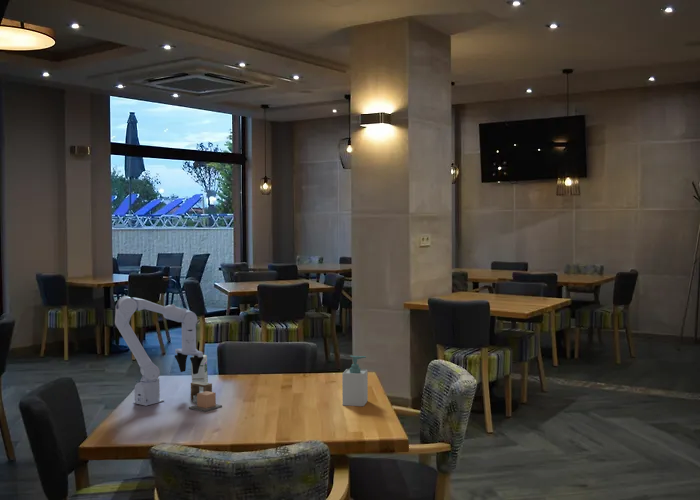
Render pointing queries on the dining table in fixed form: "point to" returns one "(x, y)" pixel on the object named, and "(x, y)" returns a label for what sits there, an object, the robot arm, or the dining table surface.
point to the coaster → (205, 408)
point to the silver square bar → (196, 397)
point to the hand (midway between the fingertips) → (189, 372)
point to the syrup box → (201, 372)
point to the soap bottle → (355, 384)
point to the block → (206, 399)
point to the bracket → (202, 384)
